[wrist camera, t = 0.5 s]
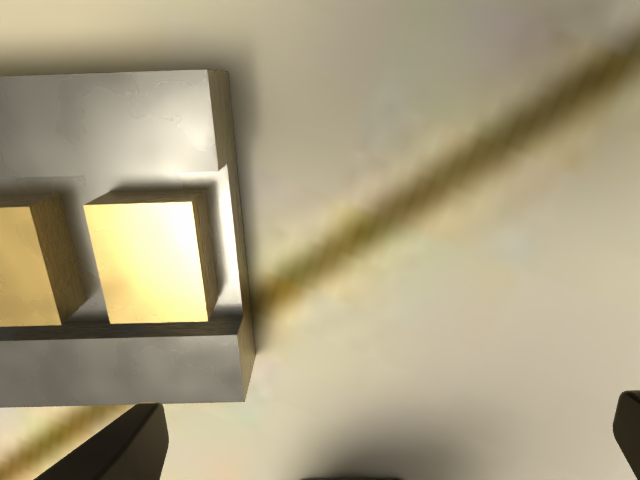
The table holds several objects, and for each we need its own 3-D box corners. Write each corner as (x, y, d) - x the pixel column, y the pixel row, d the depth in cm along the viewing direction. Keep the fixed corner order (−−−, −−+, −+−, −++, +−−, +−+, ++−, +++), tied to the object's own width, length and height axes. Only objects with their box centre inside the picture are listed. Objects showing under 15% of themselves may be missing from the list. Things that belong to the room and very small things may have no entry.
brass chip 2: (218, 298, 19) (207, 321, 18) (130, 300, 20) (110, 323, 18) (205, 188, 18) (191, 202, 16) (108, 192, 18) (82, 205, 16)
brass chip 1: (86, 301, 20) (61, 325, 18) (-2, 304, 20) (-36, 327, 18) (59, 193, 18) (29, 206, 16) (-37, 196, 18) (-79, 210, 16)
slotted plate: (255, 355, 23) (244, 401, 20) (-7, 362, 23) (-61, 409, 20) (227, 71, 18) (207, 69, 15) (-104, 82, 18) (-197, 83, 15)
